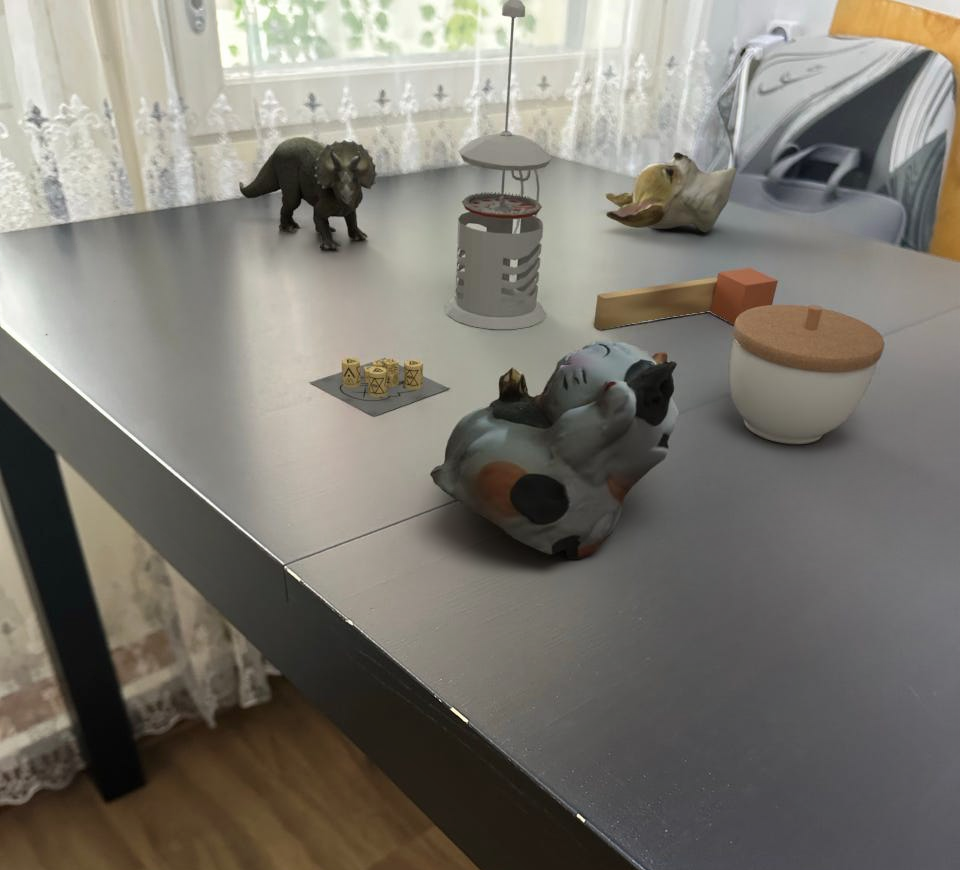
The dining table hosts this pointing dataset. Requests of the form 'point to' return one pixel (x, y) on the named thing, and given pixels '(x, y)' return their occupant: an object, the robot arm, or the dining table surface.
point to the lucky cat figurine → (564, 447)
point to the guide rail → (654, 302)
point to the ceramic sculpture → (674, 196)
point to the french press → (500, 231)
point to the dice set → (379, 384)
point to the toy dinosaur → (317, 183)
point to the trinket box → (799, 370)
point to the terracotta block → (741, 292)
